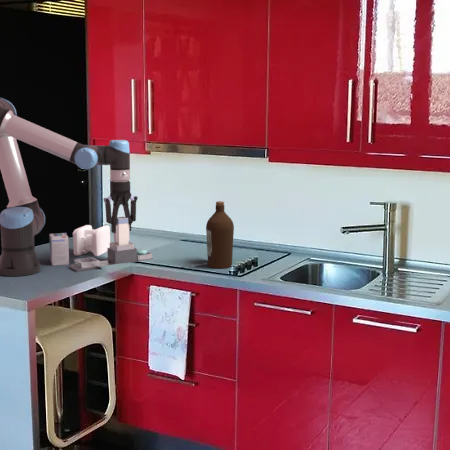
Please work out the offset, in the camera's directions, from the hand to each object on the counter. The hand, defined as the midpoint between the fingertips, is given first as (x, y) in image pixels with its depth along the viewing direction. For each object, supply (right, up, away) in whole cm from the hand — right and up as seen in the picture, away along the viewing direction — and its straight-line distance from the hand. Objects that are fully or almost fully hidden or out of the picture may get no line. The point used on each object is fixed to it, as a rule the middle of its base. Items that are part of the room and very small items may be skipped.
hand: (121, 240), depth 271 cm
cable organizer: (-15, -7, +17) cm, 23 cm away
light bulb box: (-25, -9, +3) cm, 27 cm away
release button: (+7, -6, +6) cm, 11 cm away
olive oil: (+38, -10, -2) cm, 40 cm away
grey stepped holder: (-3, -9, -1) cm, 10 cm away
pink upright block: (0, -3, +1) cm, 3 cm away
